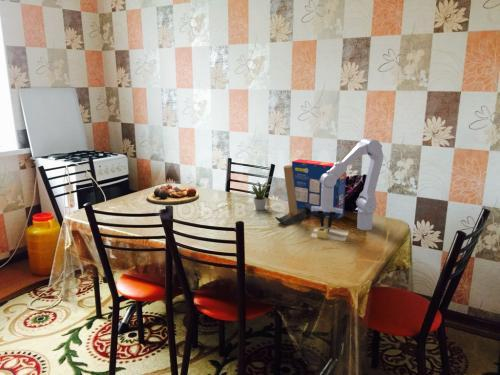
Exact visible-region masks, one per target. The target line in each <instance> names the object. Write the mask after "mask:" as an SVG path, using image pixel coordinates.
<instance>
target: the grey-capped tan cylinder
mask: <svg viewBox="0 0 500 375" xmlns="http://www.w3.org/2000/svg"><path fill="white" fill-rule="evenodd" d="M322 228H327V229H328V230H329V229H330V228H329V216H324V217H323V227H322Z"/></svg>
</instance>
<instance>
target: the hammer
mask: <svg viewBox="0 0 500 375" xmlns="http://www.w3.org/2000/svg"><path fill="white" fill-rule="evenodd" d="M283 172H284V179H285V180H284V181H285V189H286V195H287V203H288V204H287V206H288V211H289V212H288V213H287V214H285V215H283V216H281V217H276V216H275V217H274V218H275V219H276V221H278V222H279V223H281V224H284V225H286V226H287V225H291V224H294V223H297V222H300V221H302V220H304V219H306V218H307V216H308V215H311V214H310V210H309V208H308V207H304V208H303V209H300V208H298V209H297V204H296V195H295V187H294V179H293V171H292V164H291V165H290V164H289V165H288V164H287V165H284V166H283Z"/></svg>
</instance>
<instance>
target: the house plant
mask: <svg viewBox="0 0 500 375" xmlns="http://www.w3.org/2000/svg"><path fill="white" fill-rule="evenodd" d="M268 182H269V180H268V181H265V182H264V184H263V185H261V183H260V181H256V183H257V185H258V187H257V186H256V185H255V184H253V183H251V182H250V184H251V188H252V193H253V194H251V196H254V197H253V202H254V205H255V209H256V210H257V211H264V210H265V208H266V202H267V197H265V196H270V195H271V192H269V191H267V190H268V187H269V186H272V185H273V183H271V184H268ZM266 191H267V192H266Z"/></svg>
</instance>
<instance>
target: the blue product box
mask: <svg viewBox="0 0 500 375" xmlns="http://www.w3.org/2000/svg"><path fill="white" fill-rule="evenodd" d="M334 163H335V162H327V161H318V160H311V159H310V160H309V159H295V160H292V161H291V166H292V171H293V179H294V187H295V195H296V204H297V209H298V208H300V209H303V208H304V207H308V208H309V210H310V214H309V215H312V216H317V217H318V214H317V213H318V211H311V207H312V206H321V187H322V184H321V182H320V178H321V176H322V175H323V174H324V173H327V171H329V170H330V169H331V168H332V167H333V166H334ZM346 175H347V171H346V172H345V173H344V174H343V175H342V176H340V177H339V178H338V179H337V181H336V184H335V185H334V195H333V207H334V208H339V209H343V213H342V214H340V213H336V214H335V216H334V218H333V220H334V219H336V220H339V219H341V218H343V217H344V216H345V200H346V199H345V196H346V179H347V178H346V177H347V176H346ZM329 214H330V212H324V216H329Z"/></svg>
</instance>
